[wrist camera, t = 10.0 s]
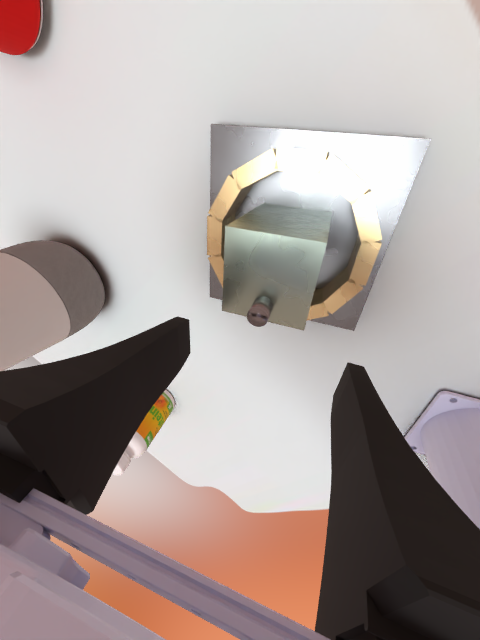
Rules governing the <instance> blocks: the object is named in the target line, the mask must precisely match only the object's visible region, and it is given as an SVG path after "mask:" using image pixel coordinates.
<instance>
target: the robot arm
mask: <svg viewBox="0 0 480 640" xmlns="http://www.w3.org/2000/svg"><path fill="white" fill-rule="evenodd" d="M189 354H190V331H189V320H188V319H185V318H181V317H175V318H173V319H171V320H168V321H166V322H164V323H162V324H160V325H158V326H155V327H153V328H151V329H149V330H147V331H145V332H142V333H140V334H138V335H136V336H133V337H131V338H128V339H126V340H124V341H121V342H119V343H116V344H114V345H111V346H108V347H105V348H103V349H99V350H96V351H93V352H90V353H87V354H83V355H80V356H76V357H72V358H68V359H64V360H61V361H56V362H52V363H47V364H42V365H37V366H32V367H27V368H21V369H14V370H7V371H0V640H165V639H164V638H162V637H160V636H159V635H157V634H155V633H154V632H152V631H151V630H149V629H147V628H146V627H144V626H142V625H141V624H139V623H138V622H136V621H134V620H133V619H131V618H129V617H127V616H126V615H124V614H122V613H121V612H119V611H117V610H116V609H114V608H112V607H111V606H109V605H107V604H106V603H104V602H102V601H101V600H99V599H97V598H95V597H93V596H92V595H90V594H88V593H87V592H85V591H83V589H84V587H85V585H86V584H87V582H88V580H89V579H90V574H89V573H88V572H87V571H85V570H84V569H83V568H82V567H81V566H79V564H77V563H76V561H74V560H73V558H72V557H71V555H70V554H69V553H68V552H66V551H65V550H63V549H62V548H61V547H59V546H57V545H56V544H54V543H53V542H51V541H50V535H52V536H54V537H56V538H58V539H59V540H61V541H63V542H65V543H67V544H69V545H70V546H72V547H74V548H76V549H77V550H79V551H81V552H83V553H85V554H87V555H88V556H90V557H92V558H94V559H96V560H97V561H99V562H101V563H103V564H105V565H106V566H108V567H110V568H112V569H114V570H115V571H117V572H119V573H121V574H123V575H125V576H127V577H128V578H130V579H132V580H134V581H135V582H137V583H139V584H141V585H143V586H144V587H146V588H148V589H150V590H152V591H153V592H155V593H157V594H159V595H161V596H163V597H164V598H166V599H168V600H170V601H172V602H173V603H175V604H177V605H179V606H181V607H182V608H184V609H186V610H188V611H190V612H192V613H194V614H195V615H197V616H199V617H201V618H202V619H204V620H206V621H208V622H210V623H212V624H213V625H215V626H217V627H219V628H221V629H223V630H224V631H226V632H228V633H230V634H231V635H233V636H235V637H237V638H239V639H241V640H480V399H476V398H472V397H468V396H464V395H461V394H457V393H453V392H449V391H441V392H439V393H438V394H437V395H436V397H435V398H434V399H433V401H432V402H431V403H430V405H429V406H428V407H427V409H426V410H425V411H424V412H423V414H422V415H421V416H420V418H419V419H418V420H417V422H416V423H415V424H414V425H413V427H412V428H411V429H410V431H409V432H408V433H407V435H406V436H405V437H403V435H402V434H401V432H400V431H399V429H398V427H397V426H396V424H395V423H394V421H393V419H392V418H391V416H390V414H389V413H388V411H387V409H386V408H385V406H384V404H383V402H382V401H381V399H380V397H379V395H378V393H377V391H376V390H375V388H374V386H373V384H372V382H371V380H370V378H369V376H368V374H367V372H366V370H365V368H364V367H363V366H359V365H355V364H352V363H347V365H346V368H345V370H344V372H343V375H342V377H341V379H340V382H339V384H338V386H337V388H336V391H335V393H334V395H333V403H332V412H331V464H332V476H331V494H330V506H329V517H328V527H327V537H326V546H325V555H324V565H323V573H322V581H321V589H320V597H319V604H318V612H317V620H316V626H315V631H313V630H311V629H308V628H307V627H305V626H302V625H301V624H299V623H297V622H295V621H293V620H291V619H289V618H287V617H285V616H283V615H281V614H279V613H277V612H275V611H273V610H271V609H269V608H268V607H266V606H264V605H262V604H260V603H258V602H256V601H254V600H252V599H250V598H248V597H246V596H244V595H242V594H240V593H238V592H236V591H234V590H232V589H230V588H228V587H226V586H224V585H222V584H220V583H218V582H217V581H215V580H212V579H211V578H209V577H206V576H204V575H203V574H201V573H199V572H197V571H195V570H193V569H191V568H189V567H187V566H185V565H183V564H181V563H179V562H177V561H175V560H173V559H171V558H169V557H167V556H166V555H164V554H161V553H160V552H158V551H156V550H154V549H152V548H150V547H148V546H146V545H144V544H142V543H140V542H138V541H136V540H134V539H132V538H130V537H128V536H126V535H124V534H122V533H120V532H118V531H116V530H115V529H112V528H111V527H109V526H107V525H104V524H103V523H101V522H99V521H97V520H95V519H93V518H91V517H89V516H87V514H89V513H90V512H92V511H93V510H94V508H95V506H96V504H97V502H98V500H99V498H100V496H101V494H102V492H103V490H104V488H105V486H106V484H107V482H108V480H109V478H110V477H111V474H112V473H113V471H114V469H115V467H116V466H117V464H118V462H119V460H120V458H121V457H122V455H123V453H124V451H125V449H126V448H127V446H128V444H129V443H130V441H131V439H132V438H133V436H134V434H135V432H136V431H137V429H138V428H139V426H140V424H141V423H142V421H143V420H144V418H145V416H146V415H147V413H148V412H149V411H150V409H151V408H152V406H153V405H154V404H155V402H156V401H157V400H158V399H159V397H160V396H161V395H162V393H163V392H164V391H165V390H166V388H167V387H168V386H169V384H170V383H171V382H172V380H173V379H174V378H175V377H176V375H177V374H178V373H179V371H180V370H181V368H182V366H183V365H184V363H185V361H186V360H187V358H188V356H189ZM451 398H454V399H451ZM415 452H417V453H420V454H424V455H426V459H427V462H428V466H429V469H430V472H429V471H428V469H427V468H426V467H425V466H424V464H423V463H422V462H421V460H420V459H419V458H418V456H417V455H416V454H415Z"/></svg>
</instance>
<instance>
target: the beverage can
mask: <svg viewBox="0 0 480 640" xmlns="http://www.w3.org/2000/svg"><path fill="white" fill-rule="evenodd" d="M42 22H43V3H42V0H0V52H3V53H7V54H10V55H20V54H23V53H25V52H27V51H28V50H30V49H31V48H32V47H33V46H34V45H35V44H36V42H37V41H38V38H39V36H40V33H41V29H42Z"/></svg>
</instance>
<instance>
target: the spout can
mask: <svg viewBox="0 0 480 640" xmlns="http://www.w3.org/2000/svg"><path fill="white" fill-rule="evenodd" d="M331 215H332V212H327V211H320V210H313V209H305V208H298V207H291V206H283V205H276V204H269V203H263V204H261V205H259V206H258V207H256V208H254V209H253V210H251V211H249V212H248V213H246V214H245V215H243V216H241V217H240V218H238V219H236V220H235V221H233V222H231V223H230V224H228V225H227V226H225V246H224V272H223V298H222V311H226V312H230V313H234V314H238V315H242V316H247V319H248V321H249V322H250V323H251V324H252V325H254V326H258V327H260V326H264V325H265V324H266V323H267V322H271V323H275V324H279V325H284V326H288V327H292V328H296V329H300V330H304V328H305V324H306V321H307V317H308V313H309V309H310V306H311V302H312V298H313V294H314V291H315V287H316V283H317V279H318V275H319V272H320V268H321V264H322V260H323V257H324V253H325V249H326V245H327V241H328V234H329V228H330V222H331Z"/></svg>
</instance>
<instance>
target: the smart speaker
mask: <svg viewBox="0 0 480 640" xmlns="http://www.w3.org/2000/svg"><path fill="white" fill-rule="evenodd" d="M104 301H105V291H104V286H103V283H102V280H101V278H100V276H99V274H98V272H97V270H96V269H95V267H94V266H93V265H92V264H91V262H90V261H89V260H88V259H87V258H86V257H85V256H84V255H82V254H81V253H80V252H79V251H77V250H76V249H74V248H72V247H71V246H68V245H66V244H63V243H60V242H55V241H31V242H25V243H21V244H17V245H14V246H10V247H7V248H4V249H1V250H0V371H4V370H5V369H8V368H10V367H12V366H14V365H15V364H17V363H19V362H21V361H23V360H25V359H27V358H29V357H31V356H33V355H35V354H37V353H39V352H41V351H43V350H45V349H47V348H49V347H50V346H52V345H54V344H56V343H58V342H60V341H62V340H64V339H66V338H68V337H69V336H71V335H73V334H74V333H76V332H78V331H79V330H81V329H83V328H84V327H85V326H87V325H88V324H89V323H90V322H92V321H93V320H94V319H95V318H96V316H97V315H98V314H99V313H100V311H101V309H102V307H103V304H104Z"/></svg>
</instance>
